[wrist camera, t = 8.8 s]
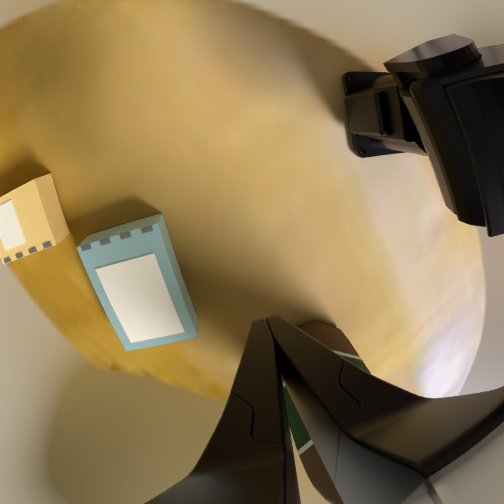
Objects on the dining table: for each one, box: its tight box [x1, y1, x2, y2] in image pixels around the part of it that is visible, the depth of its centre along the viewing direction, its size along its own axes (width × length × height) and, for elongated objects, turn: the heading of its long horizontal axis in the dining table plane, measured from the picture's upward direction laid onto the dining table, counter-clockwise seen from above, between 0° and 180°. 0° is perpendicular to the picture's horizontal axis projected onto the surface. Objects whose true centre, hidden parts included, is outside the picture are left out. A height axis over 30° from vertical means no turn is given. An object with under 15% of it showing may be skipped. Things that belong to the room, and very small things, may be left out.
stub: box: [0, 173, 70, 265], centre depth 16 cm, size 6×5×2 cm
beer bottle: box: [281, 321, 371, 504], centre depth 15 cm, size 8×8×24 cm
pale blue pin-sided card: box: [77, 213, 198, 351], centre depth 20 cm, size 6×9×2 cm, turn 11°
